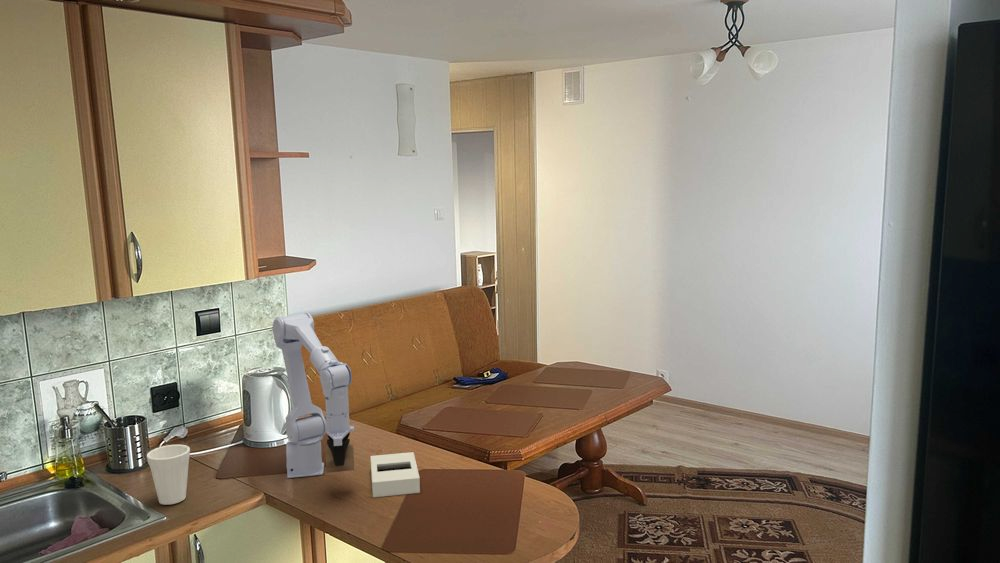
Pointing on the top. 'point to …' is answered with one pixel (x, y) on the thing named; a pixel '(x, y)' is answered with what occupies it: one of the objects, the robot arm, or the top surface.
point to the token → (347, 464)
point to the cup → (170, 472)
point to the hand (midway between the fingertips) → (339, 462)
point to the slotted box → (394, 475)
